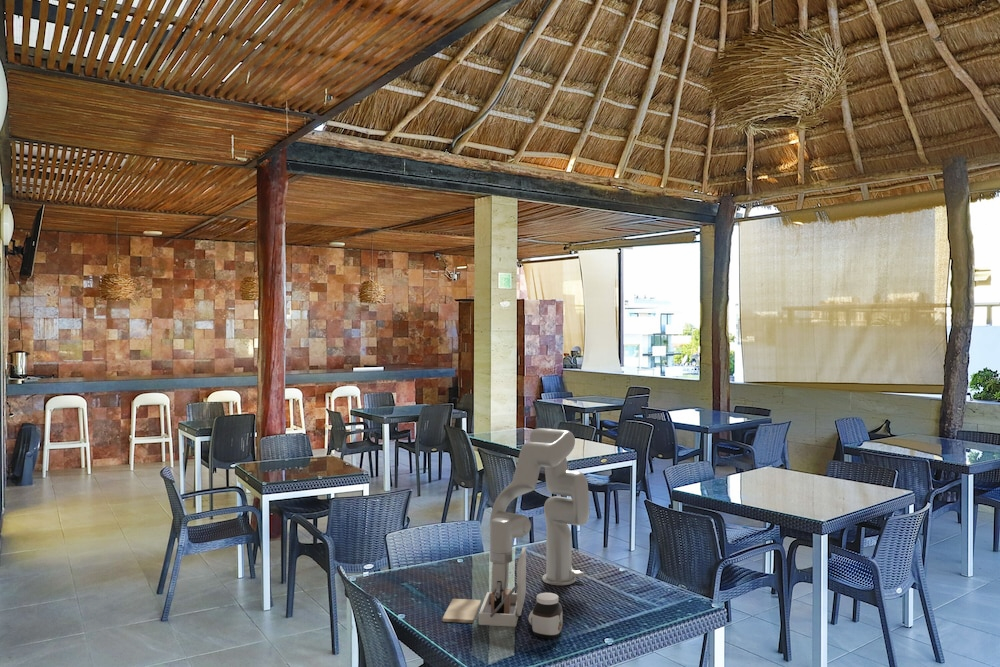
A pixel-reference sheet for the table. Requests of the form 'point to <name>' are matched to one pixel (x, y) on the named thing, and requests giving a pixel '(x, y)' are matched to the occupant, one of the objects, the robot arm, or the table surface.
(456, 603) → the oak board
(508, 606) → the block
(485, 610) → the case
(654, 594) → the table surface
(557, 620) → the spread jar
